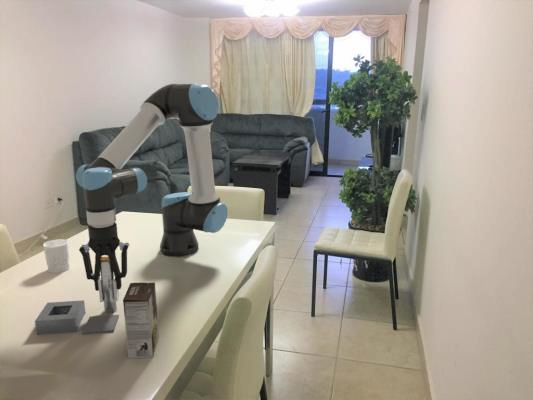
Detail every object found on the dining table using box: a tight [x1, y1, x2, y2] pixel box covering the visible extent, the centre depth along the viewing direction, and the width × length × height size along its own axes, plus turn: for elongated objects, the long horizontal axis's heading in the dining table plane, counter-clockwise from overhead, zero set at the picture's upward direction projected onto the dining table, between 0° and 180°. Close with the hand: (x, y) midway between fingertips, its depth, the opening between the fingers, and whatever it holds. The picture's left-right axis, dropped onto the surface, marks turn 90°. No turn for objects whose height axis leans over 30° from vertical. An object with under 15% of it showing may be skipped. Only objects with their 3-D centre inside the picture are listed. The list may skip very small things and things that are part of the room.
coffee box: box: [122, 281, 160, 359], centre depth 108 cm, size 9×6×16 cm
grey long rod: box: [100, 256, 118, 314], centre depth 126 cm, size 3×3×17 cm
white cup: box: [42, 238, 70, 274], centre depth 154 cm, size 8×8×10 cm
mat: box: [82, 314, 120, 335], centre depth 120 cm, size 8×8×1 cm
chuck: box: [34, 299, 86, 335], centre depth 121 cm, size 10×10×4 cm
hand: (109, 299), depth 127 cm, fingers closed on grey long rod, 3 cm apart
